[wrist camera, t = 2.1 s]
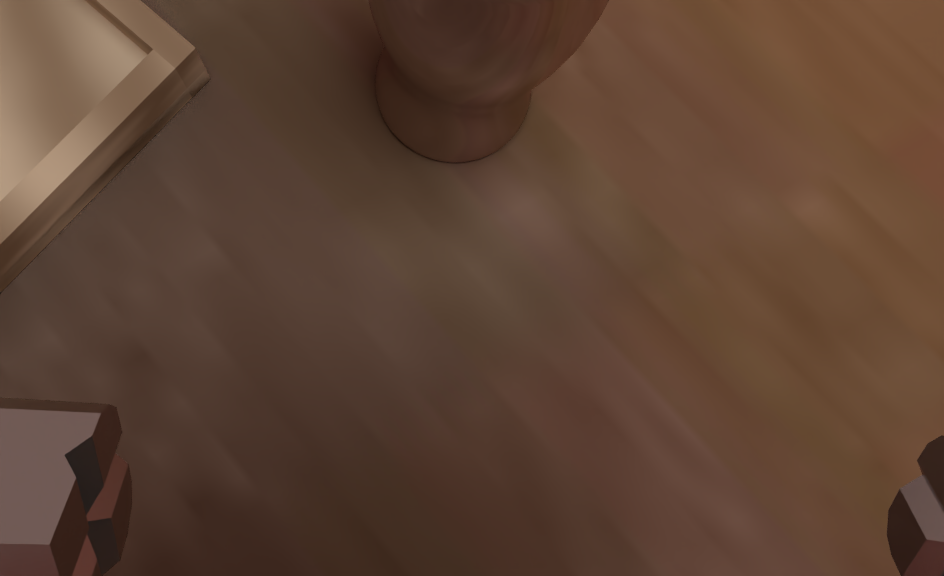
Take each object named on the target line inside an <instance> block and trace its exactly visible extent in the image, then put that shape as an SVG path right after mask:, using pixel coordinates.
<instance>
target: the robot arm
mask: <svg viewBox="0 0 944 576" xmlns="http://www.w3.org/2000/svg"><path fill="white" fill-rule="evenodd" d="M121 434H122V428H121V424H120V420H119V416H118V411H117V407H114V406H112V405H110V404H98V403H82V402H66V401H50V400H34V399H18V398H2V397H0V576H102V575H103V574H105V573H106V572H107V571H108V570H109V569H110V568H112V567H113V566H114V565H115V564H116V563H117V562H119V561H120V559H121V555H122V552H123V548H124V545H125V541H126V538H127V534H128V528H129V521H130V514H131V507H132V481H131V475H130V470H129V464H128V463H127V462H126V461H125V460H123V459H122V458H121V457H120V456H119V455H117V454H116V453H115V452H116V449H117V446H118V443H119V440H120V437H121ZM917 461H918V464H919V467H920V470H921V472H922V475H921V476H920V477H918V478H916V479H915V480H913V481H912V482H910V483H908V484H907V485H905V486H904V487H902V488H900V489H899V491H898V493H897V495H896V497H895V499H894V501H893V503H892V505H891V506H890V508H889V510H888V525H887V538H888V542H889V547H890V551H891V555H892V558H893V560H894V562H895V564H896V566H897V568H898V570H899V573H900V575H901V576H944V436H940V437H938V438H936V439H935V440H933V441H931V442H930V443H928V444H927V445H926V447H925V449H924V450H923V452H922V453H921V455H920V457H919V458H918V460H917Z"/></svg>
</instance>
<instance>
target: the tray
mask: <svg viewBox="0 0 944 576" xmlns="http://www.w3.org/2000/svg"><path fill="white" fill-rule="evenodd" d="M209 80H210V77H209V75H208V73H207V70H206V68H205V66H204V64H203V62H202V60H201V58H200V56H199V54H198V52H197V50H196V48H195V47H194V46H193V45H192V44H190V43H189V42H188V41H187V40H186V39H185V38H183V37H182V36H181V35H180V34H179V33H178V32H177V31H175V30H174V29H173V28H172V27H171V26H170V25H168V24H167V23H166V22H165V21H164V20H163V19H161V18H160V17H159V16H158V15H157V14H156V13H155V12H153V11H152V10H151V9H150V8H149V7H148V6H146V5H145V4H144V3H143V2H142V1H141V0H0V293H1V292H2V291H3V290H4V289H5V288H6V287H7V286H8V285H9V284H10V283H11V282H12V281H13V280H14V279H15V278H16V277H17V276H18V275H19V273H20V272H21V271H22V270H23V269H24V268H25V267H26V266H27V265H28V264H29V263H30V262H31V261H32V260H33V259H34V258H35V257H36V256H37V255H38V254H39V253H40V252H41V251H42V250H43V249H44V248H45V247H46V246H47V245H48V244H49V243H50V242H51V241H52V240H53V239H54V238H55V237H56V236H57V235H58V234H59V233H60V232H61V231H62V230H63V229H64V228H65V227H66V226H67V225H68V224H69V223H70V222H71V221H72V220H73V219H74V217H75V216H76V215H77V214H78V213H79V212H80V211H81V210H82V209H83V208H84V207H85V206H86V205H87V204H88V203H89V202H90V201H91V200H92V199H93V198H94V197H95V196H96V195H97V194H98V193H99V192H100V191H101V190H102V189H103V188H104V187H105V186H106V185H107V184H108V183H109V182H110V181H111V180H112V179H113V178H114V177H115V176H116V175H117V174H118V173H119V172H120V171H121V170H122V169H123V168H124V167H125V166H126V165H127V164H128V163H129V161H130V160H131V159H132V158H133V157H134V156H135V155H136V154H137V153H138V152H139V151H140V150H141V149H142V148H143V147H144V146H145V145H146V144H147V143H148V142H149V141H150V140H151V139H152V138H153V137H154V136H155V135H156V134H157V133H158V132H159V131H160V130H161V129H162V128H163V127H164V126H165V125H166V124H167V123H168V122H169V121H170V120H171V119H172V118H173V117H174V116H175V115H176V114H177V113H178V112H179V111H180V110H181V109H182V108H183V107H184V105H185V104H186V103H187V102H188V101H189V100H190V99H191V98H192V97H193V96H194V95H195V94H196V93H197V92H198V91H199V90H200V89H201V88H202V87H203V86H204V85H205V84H206V83H207V82H208V81H209Z"/></svg>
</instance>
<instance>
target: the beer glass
mask: <svg viewBox="0 0 944 576" xmlns="http://www.w3.org/2000/svg"><path fill="white" fill-rule="evenodd" d="M368 1H369V5H370V9H371V12H372V16H373V20H374V23H375V25H376V28H377V31H378V33H379V35H380V38H381V40H382V43H383V45H384V48H383V50H382V52H381V55H380V57H379V60H378V64H377V68H376V74H375V92H376V98H377V102H378V106H379V109H380V112H381V114H382V116H383V118H384V120H385V122H386V124H387V126H388V127H389V128H390V130H391V131H392V132H393V134H394V135H395V136H396V137H397V138H398V139H399V140H400V141H401V142H402V143H403V144H405V145H406V146H407V147H409V148H410V149H411V150H413V151H415V152H417V153H418V154H420V155H423V156H425V157H427V158H430V159H434V160H437V161H442V162H452V163H459V162H469V161H474V160H477V159H480V158H483V157H486V156H488V155H490V154H492V153H494V152H496V151H497V150H499V149H500V148H502V147H503V146H504V145H506V144H507V143H508V142H509V141H510V140H511V139H512V138H513V137H514V135H515V134H516V133H517V132H518V130H519V129H520V127H521V125H522V123H523V122H524V119H525V117H526V115H527V112H528V109H529V105H530V100H531V93H532V89H534V88H535V87H536V86H538V85H539V84H540V83H542V82H543V81H544V80H546V79H547V78H548V77H550V76H551V75H552V74H553V73H554V72H555V71H556V70H557V69H558V68H559V67H560V66H562V65H563V64H564V63H565V62H566V61H567V60H568V59H569V58H570V57H571V56H572V55H573V54H574V53H575V52H576V51H577V49H578V48H579V47H580V46H581V44H582V43H583V42H584V40H585V39H586V37H587V36H588V34H589V33H590V31H591V30H592V29H593V27H594V26H595V24H596V23H597V21H598V20H599V18H600V17H601V15H602V13H603V11H604V9H605V7H606V5H607V4H608V2H609V0H368Z"/></svg>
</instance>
